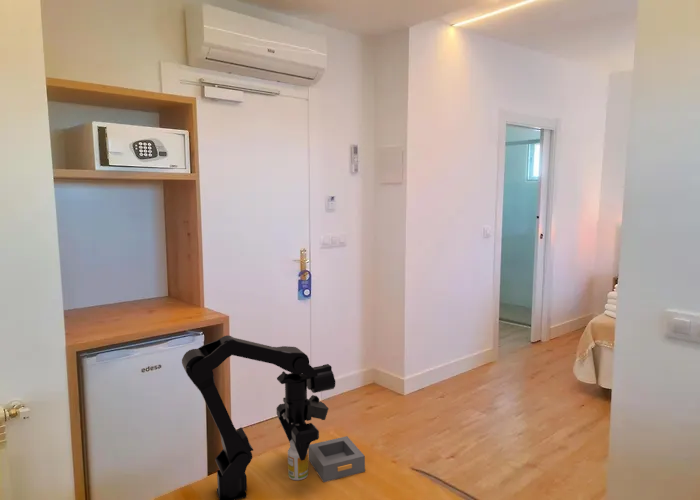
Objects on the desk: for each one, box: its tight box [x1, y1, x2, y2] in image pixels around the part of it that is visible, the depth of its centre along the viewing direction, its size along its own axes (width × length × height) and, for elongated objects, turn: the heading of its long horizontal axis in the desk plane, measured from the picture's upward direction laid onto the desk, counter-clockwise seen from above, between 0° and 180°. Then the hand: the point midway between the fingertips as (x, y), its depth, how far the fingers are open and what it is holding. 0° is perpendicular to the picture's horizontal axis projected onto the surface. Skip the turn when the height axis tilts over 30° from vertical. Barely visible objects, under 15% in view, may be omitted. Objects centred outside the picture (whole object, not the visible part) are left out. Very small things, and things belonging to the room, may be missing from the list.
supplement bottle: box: [287, 440, 309, 481], centre depth 133 cm, size 5×5×10 cm
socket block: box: [308, 435, 366, 483], centre depth 137 cm, size 12×12×4 cm
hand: (297, 451), depth 132 cm, fingers open, 9 cm apart
